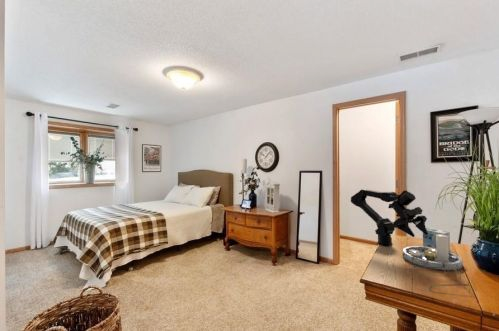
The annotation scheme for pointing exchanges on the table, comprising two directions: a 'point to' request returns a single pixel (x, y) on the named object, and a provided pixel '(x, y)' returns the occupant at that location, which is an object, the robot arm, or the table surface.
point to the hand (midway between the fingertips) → (420, 235)
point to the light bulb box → (434, 237)
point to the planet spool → (442, 249)
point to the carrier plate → (430, 258)
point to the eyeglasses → (445, 272)
